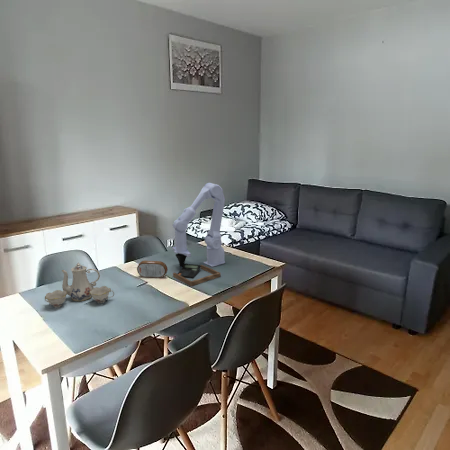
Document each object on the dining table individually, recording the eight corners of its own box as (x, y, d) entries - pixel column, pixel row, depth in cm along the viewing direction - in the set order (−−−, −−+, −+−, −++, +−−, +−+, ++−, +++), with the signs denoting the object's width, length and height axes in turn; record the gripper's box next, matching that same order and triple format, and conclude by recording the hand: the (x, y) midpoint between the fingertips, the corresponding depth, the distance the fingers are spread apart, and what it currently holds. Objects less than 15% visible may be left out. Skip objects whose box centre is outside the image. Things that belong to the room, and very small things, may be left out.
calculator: (175, 276, 185) (175, 271, 184) (184, 268, 195) (184, 263, 195) (193, 278, 182) (193, 272, 181) (200, 270, 193) (200, 264, 192)
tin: (168, 276, 185) (167, 260, 183) (166, 278, 182) (165, 262, 180) (138, 275, 187) (137, 259, 185) (136, 278, 184) (135, 262, 181)
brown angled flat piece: (202, 268, 196) (201, 264, 195) (220, 276, 184) (220, 272, 184) (173, 276, 185) (173, 273, 184) (191, 286, 173) (190, 282, 173)
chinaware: (43, 316, 149) (37, 280, 143) (48, 295, 164) (43, 262, 158) (115, 306, 157) (112, 271, 152) (113, 287, 172) (111, 255, 166)
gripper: (167, 240, 194) (168, 264, 198) (182, 247, 183) (183, 272, 187) (178, 237, 198) (179, 261, 202) (193, 244, 188) (194, 268, 191)
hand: (182, 266), depth 195 cm, fingers closed, pressing on calculator
